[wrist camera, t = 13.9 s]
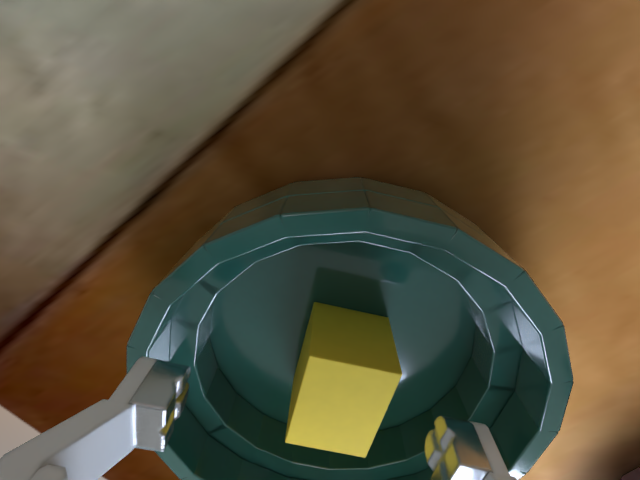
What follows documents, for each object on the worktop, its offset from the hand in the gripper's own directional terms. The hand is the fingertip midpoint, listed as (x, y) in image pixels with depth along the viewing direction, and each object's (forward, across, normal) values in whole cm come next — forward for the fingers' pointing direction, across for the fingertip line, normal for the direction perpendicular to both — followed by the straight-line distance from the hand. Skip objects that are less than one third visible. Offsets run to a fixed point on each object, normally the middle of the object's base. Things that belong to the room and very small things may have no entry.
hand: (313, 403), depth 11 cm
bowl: (+6, -2, +2) cm, 6 cm away
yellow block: (+5, -2, +2) cm, 6 cm away
